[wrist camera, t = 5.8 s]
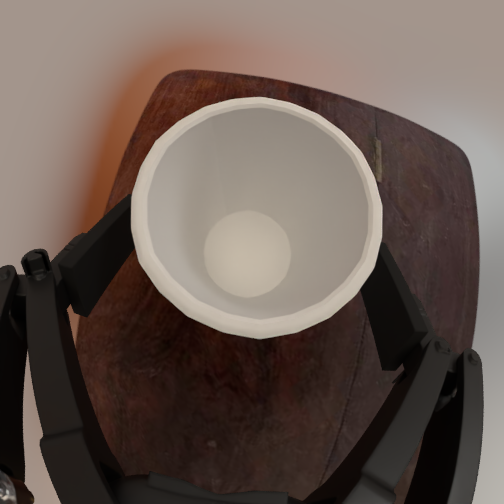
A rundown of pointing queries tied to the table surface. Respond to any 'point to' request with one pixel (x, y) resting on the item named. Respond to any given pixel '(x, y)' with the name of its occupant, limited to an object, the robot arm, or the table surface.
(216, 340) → the table surface
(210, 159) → the cup
